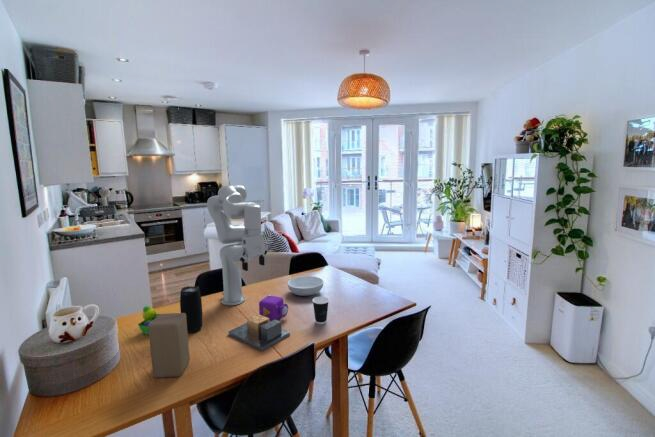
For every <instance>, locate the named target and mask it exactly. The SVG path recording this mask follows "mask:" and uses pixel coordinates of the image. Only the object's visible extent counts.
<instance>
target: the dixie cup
mask: <svg viewBox="0 0 655 437" xmlns="http://www.w3.org/2000/svg"><path fill="white" fill-rule="evenodd" d="M329 301H330V298H328V297H326V296H315V297H313V298H312V304H313V313H314V319H315V324H317V325H324V324H326V323H327V319H328V310H329Z"/></svg>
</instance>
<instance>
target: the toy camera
mask: <svg viewBox="0 0 655 437" xmlns="http://www.w3.org/2000/svg"><path fill="white" fill-rule="evenodd" d="M258 309H259V310H258V314H260V315H262V316H265V317H267V318H269V322H270V321H272V320H274V319H275V320H279V319H280V318H281V317H282V318H285V317H286V316H287V314H288V311H289V305H288V303H284V298H283V297H281V296H277V295H272V294H268V295H267V296H265V297H264V298H262V299H261V300H260V301H259V302H258Z"/></svg>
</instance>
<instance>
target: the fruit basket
mask: <svg viewBox="0 0 655 437" xmlns="http://www.w3.org/2000/svg"><path fill="white" fill-rule="evenodd" d="M159 314H160V313H157V311H156V310H155V309H154V308H153V307H151V306H149V305H145V306H144V307H143V309H142V317H143V319H144V320H142V321H141V322H139V323H138V324H137V325H138V327H139V328H140V331H141V333H142V335H146V334H149V330H148V327H149V325H150V324H151V322H152V321H153V320H154V319H155V318H156V317H157V316H158V315H159ZM144 333H145V334H144Z"/></svg>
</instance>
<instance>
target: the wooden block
mask: <svg viewBox="0 0 655 437" xmlns="http://www.w3.org/2000/svg"><path fill="white" fill-rule="evenodd" d="M158 314H159V315H158V316H157V317H156V318H155V319H154V320H153V321H152V322H151V324H150V325H149V327H148V330H149V335H148V338H149V347H150V356H151V357H150V359H151V367H152V368H151V369H152V376H153V378H171V377H172V378H173V377H175V378H176V377H180V376H182V375H183V373H184V372H185V369H186V368H187V366H188V364H189V363H190V359H191V358H190V346H189V334H188V331H187V319H186V313H181V312H176V313H175V312H173V313H172V312H171V313H158Z"/></svg>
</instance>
